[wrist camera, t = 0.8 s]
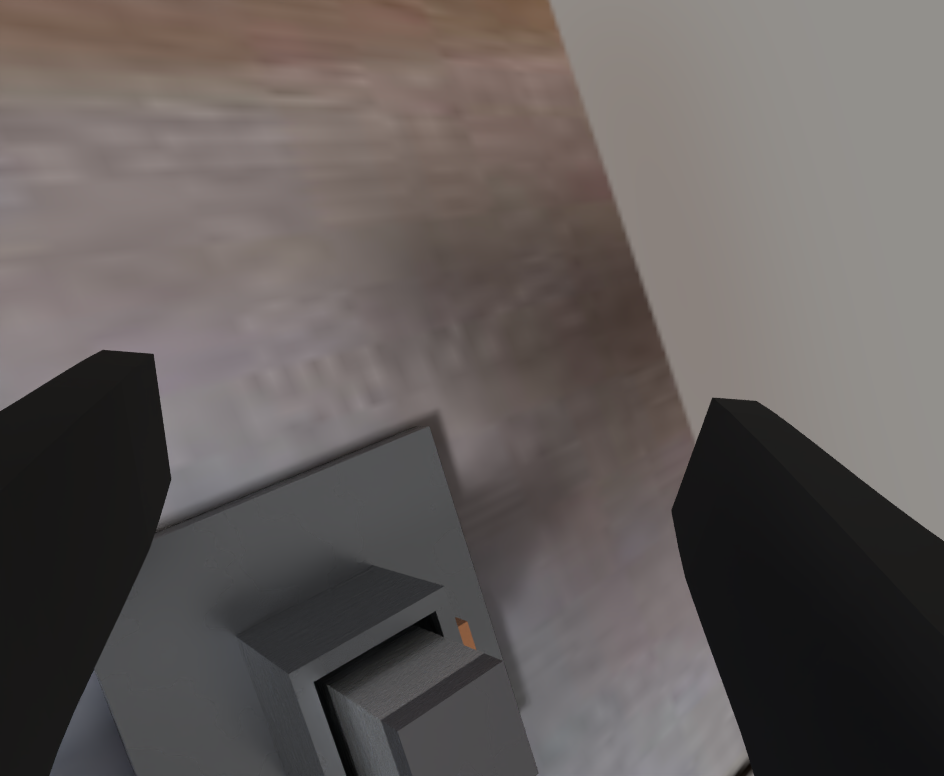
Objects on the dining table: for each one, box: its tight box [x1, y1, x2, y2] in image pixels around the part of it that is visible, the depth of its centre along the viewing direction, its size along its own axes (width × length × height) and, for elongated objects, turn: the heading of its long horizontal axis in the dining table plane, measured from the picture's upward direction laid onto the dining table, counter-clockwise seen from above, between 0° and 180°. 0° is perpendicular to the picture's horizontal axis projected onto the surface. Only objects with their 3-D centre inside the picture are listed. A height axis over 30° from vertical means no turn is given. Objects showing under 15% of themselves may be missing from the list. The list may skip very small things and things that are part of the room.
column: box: [314, 624, 538, 776], centre depth 20 cm, size 3×3×8 cm
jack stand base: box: [94, 426, 526, 776], centre depth 22 cm, size 12×12×6 cm
